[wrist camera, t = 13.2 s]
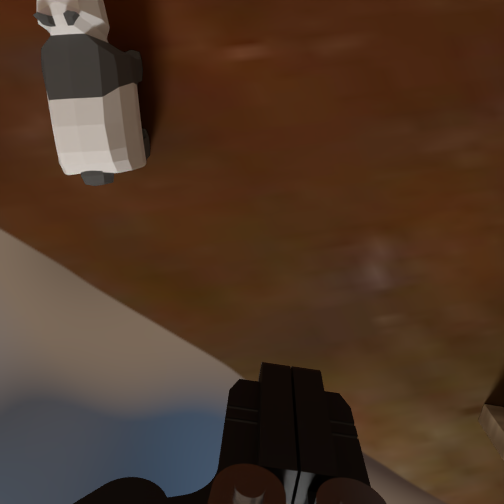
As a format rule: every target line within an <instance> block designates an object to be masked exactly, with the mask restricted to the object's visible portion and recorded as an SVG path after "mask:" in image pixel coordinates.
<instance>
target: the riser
mask: <svg viewBox="0 0 504 504" xmlns="http://www.w3.org/2000/svg"><path fill="white" fill-rule="evenodd" d="M478 421H479V423H480V425H481V426H482V428H483V429H484V431H485V432H486V434H487V435H488V437H489V439H490V440H491V442H492V443H493V445H494V446H495V448H496V450H497V451H498V453H499V454H500V456H501V457H502V459H503V460H504V407H501V406H494V405H487V404H484V406H483V409H482V412H481V415H480V417H479V420H478Z"/></svg>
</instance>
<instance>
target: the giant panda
mask: <svg viewBox="0 0 504 504" xmlns="http://www.w3.org/2000/svg"><path fill="white" fill-rule="evenodd" d="M33 16H34V17H35V18H37V19H38V24H39V25H41V26H42V27H44V28H45V29H46V30H48V31H49V33H50V34H51V36H50V38H49V39H48V40H47V42H46V43H45V44H44V45H43V47H42V48H41V63H42V72H43V77H44V82H45V86H46V91H47V97H48V103H49V110H50V116H51V122H52V128H53V133H54V138H55V143H56V148H57V153H58V158H59V163H60V165H61V167H62V169H63V171H64V173H65V174H67V175H73V174H80V173H81V177H82V179H83V180H84V182H85V184H87V185H93V186H97V185H104V184H108V183H112V182H113V179H114V173H120V172H125V171H131V170H135V169H138V168H141V167H144V166H145V165H146V160H147V158H148V157H149V156H150V142H149V137H148V133H147V130H146V129H143V128H142V126H141V119H140V109H139V100H138V91H137V85H138V82H141V81H142V74H143V67H142V59H141V56H140V52H138V51H134V50H129V51H127V52H122V51H121V50H119V49H117V48H115V47H114V46H112V45H111V44H109V43H108V41H107V36H108V33H109V29H110V27H109V23H108V18H107V14H106V10H105V5H104V1H103V0H37V13H35V14H34V15H33Z"/></svg>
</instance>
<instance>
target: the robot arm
mask: <svg viewBox="0 0 504 504" xmlns="http://www.w3.org/2000/svg"><path fill="white" fill-rule="evenodd" d="M357 437H358V435H357V431H356V427H355V426H354V419H353V416H352V412H351V408H350V406H349V405H348V404H347V403H346V401H345V400H344V399H343V398H342V396H341V395H340V394H339V393H333V392H326V391H324V387H323V382H322V376H321V372H320V370H313V369H306V368H300V367H293V366H292V367H291V369H290V366H285V365H278V364H271V363H264V362H262V364H261V369H260V374H259V380H258V382H257V381H250V380H243V379H239V380H238V381H237V382H236V383H235V385H234V386H233V387H232V388H231V389H230V390H229V396H228V404H227V410H226V417H225V423H224V430H223V437H222V444H221V451H220V458H219V465H218V470H217V473H216V475H215V477H214V478H213V479H212V481H211V482H210V483H209V484H208V485H206V486H205V487H204V488H202V489H200V490H198V491H196V492H194V493H191V494H187V495H182V496H175V497H168V498H167V497H166V495H165V493H164V491H163V490H162V489H161V488H160V487H159V486H158V485H156V484H155V483H153V482H151V481H149V480H146V479H143V478H138V477H128V478H120V479H116V480H114V481H111V482H109V483H107V484H105V485H103V486H101V487H100V488H98V489H97V490H95V491H93V492H92V493H90V494H88V495H87V496H85V497H83V498H82V499H80V500H78V501H77V502H75V503H74V504H386V502H385V501H384V499H383V498H382V497H381V496H380V495H379V494H378V493H377V492H376V491H375V490H374V489H372V488H371V486H370V482H369V478H368V474H367V471H366V467H365V463H364V459H363V455H362V451H361V447H360V443H359V439H357Z"/></svg>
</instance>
